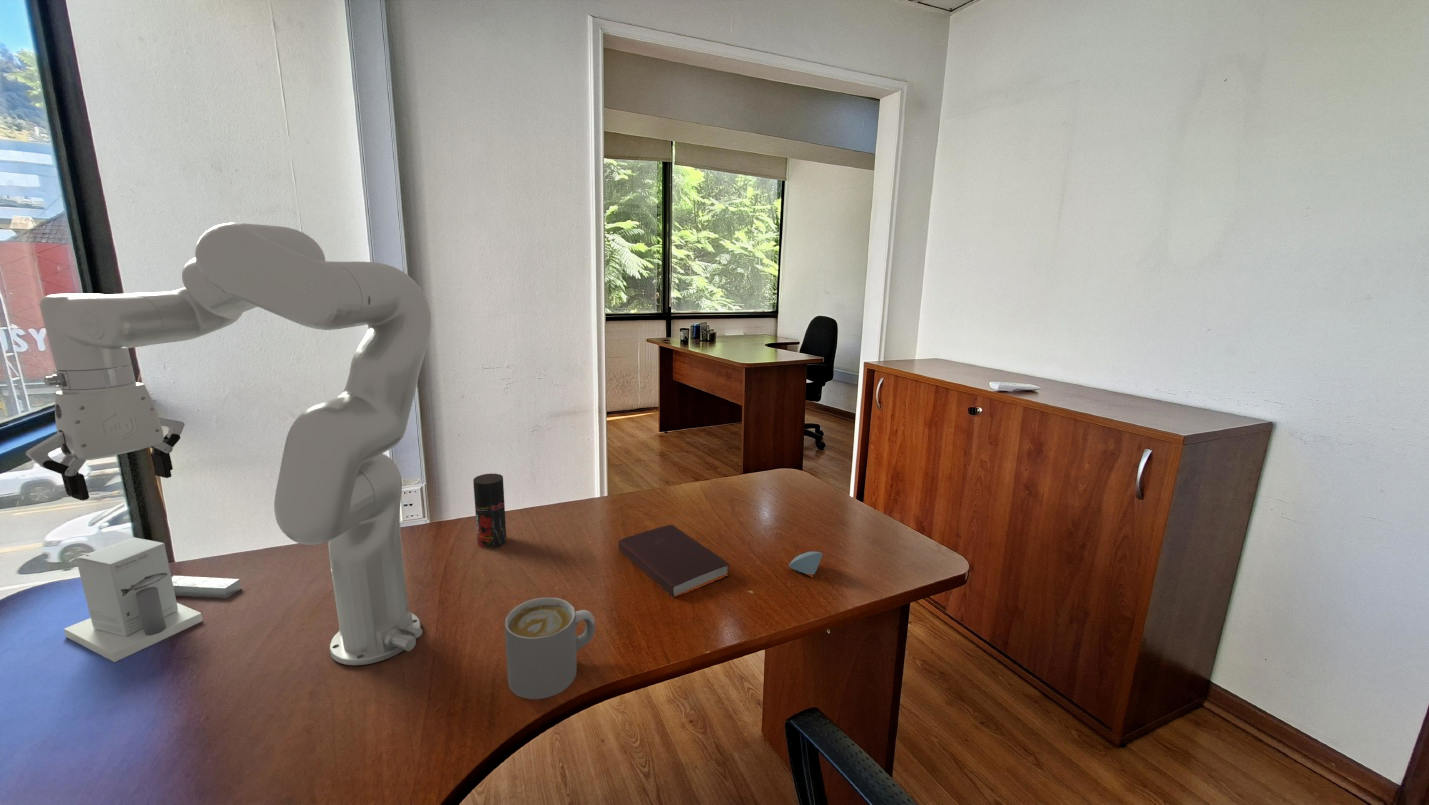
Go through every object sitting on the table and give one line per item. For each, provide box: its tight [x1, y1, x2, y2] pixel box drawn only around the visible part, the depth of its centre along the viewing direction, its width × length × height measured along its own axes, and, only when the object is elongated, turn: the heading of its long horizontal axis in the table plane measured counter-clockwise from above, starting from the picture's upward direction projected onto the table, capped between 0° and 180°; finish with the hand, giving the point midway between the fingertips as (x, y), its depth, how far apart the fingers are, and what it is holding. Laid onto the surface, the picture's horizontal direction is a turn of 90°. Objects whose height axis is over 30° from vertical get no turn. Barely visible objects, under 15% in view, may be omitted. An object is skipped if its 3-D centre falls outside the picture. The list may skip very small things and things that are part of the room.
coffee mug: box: [504, 596, 596, 700], centre depth 84 cm, size 13×10×10 cm
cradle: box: [63, 587, 204, 663], centre depth 90 cm, size 14×11×8 cm
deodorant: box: [472, 473, 507, 550], centre depth 121 cm, size 6×6×15 cm
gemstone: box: [788, 550, 824, 575], centre depth 114 cm, size 8×8×5 cm
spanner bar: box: [171, 573, 242, 599], centre depth 101 cm, size 16×4×2 cm, turn 88°
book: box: [617, 524, 730, 597], centre depth 117 cm, size 14×22×4 cm, turn 37°
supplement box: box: [75, 537, 178, 636], centre depth 89 cm, size 7×7×13 cm
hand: (124, 486), depth 86 cm, fingers open, 9 cm apart
